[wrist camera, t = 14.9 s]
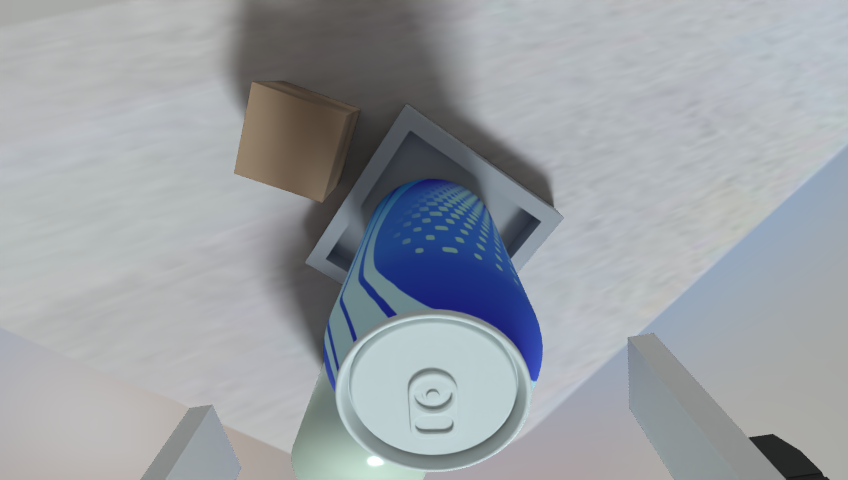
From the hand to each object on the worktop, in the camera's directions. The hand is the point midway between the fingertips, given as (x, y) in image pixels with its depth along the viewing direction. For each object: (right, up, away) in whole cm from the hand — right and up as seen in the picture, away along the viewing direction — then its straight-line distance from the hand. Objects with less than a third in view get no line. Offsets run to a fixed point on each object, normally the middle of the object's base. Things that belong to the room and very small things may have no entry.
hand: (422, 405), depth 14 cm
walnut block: (-7, +12, +14) cm, 20 cm away
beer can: (+1, +6, +16) cm, 17 cm away
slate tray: (+1, +6, +16) cm, 17 cm away
